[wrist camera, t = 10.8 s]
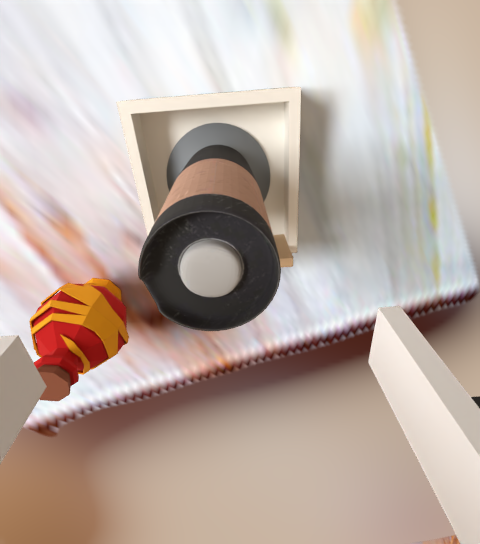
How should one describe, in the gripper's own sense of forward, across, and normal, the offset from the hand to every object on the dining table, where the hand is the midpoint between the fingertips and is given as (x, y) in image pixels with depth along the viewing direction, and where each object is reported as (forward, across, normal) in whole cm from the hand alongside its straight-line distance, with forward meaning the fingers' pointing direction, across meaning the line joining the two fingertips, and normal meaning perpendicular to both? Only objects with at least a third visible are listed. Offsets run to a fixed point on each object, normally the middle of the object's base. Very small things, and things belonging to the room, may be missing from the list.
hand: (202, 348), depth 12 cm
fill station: (+27, 0, 0) cm, 27 cm away
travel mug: (+26, 0, 0) cm, 26 cm away
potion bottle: (+27, -17, -14) cm, 35 cm away
